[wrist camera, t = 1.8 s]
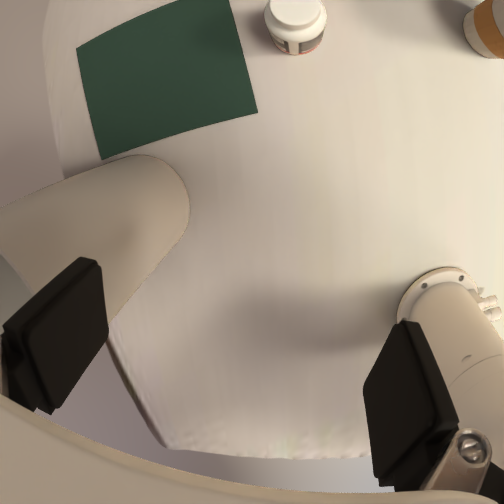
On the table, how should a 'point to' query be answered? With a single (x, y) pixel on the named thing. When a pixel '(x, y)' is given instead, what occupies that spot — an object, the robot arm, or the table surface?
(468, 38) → the coffee cup
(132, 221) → the cylinder vase
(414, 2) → the table surface
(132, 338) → the table surface
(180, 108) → the right mat
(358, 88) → the table surface
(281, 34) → the pill bottle
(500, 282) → the table surface
